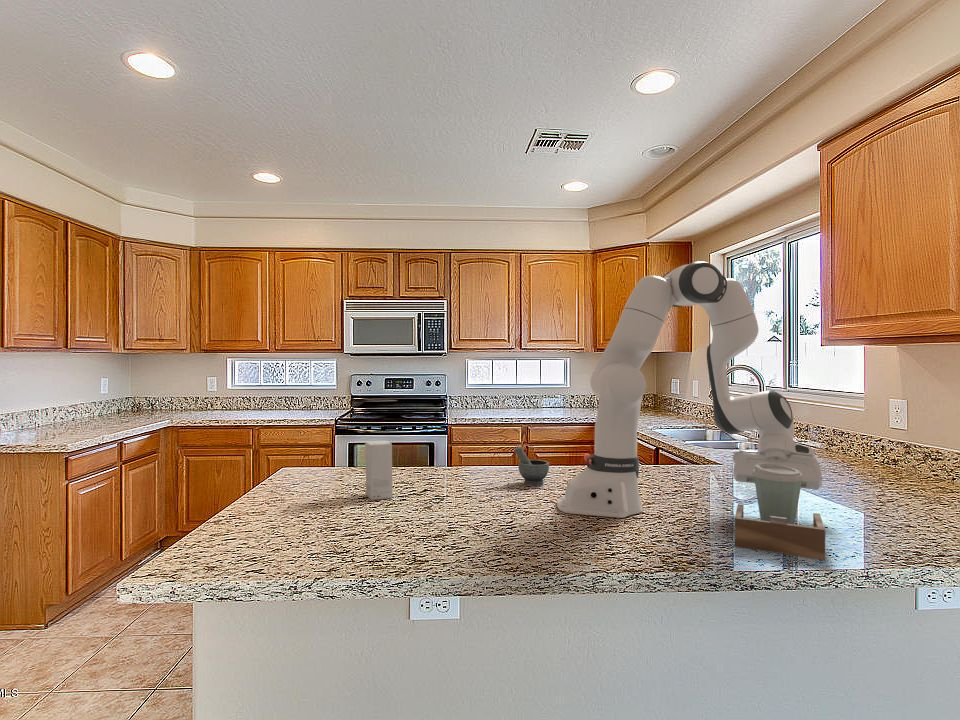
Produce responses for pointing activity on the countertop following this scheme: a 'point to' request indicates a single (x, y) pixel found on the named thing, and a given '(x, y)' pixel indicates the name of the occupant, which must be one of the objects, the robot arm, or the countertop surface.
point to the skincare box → (378, 470)
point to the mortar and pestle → (531, 469)
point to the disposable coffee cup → (777, 490)
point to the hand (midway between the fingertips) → (776, 497)
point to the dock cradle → (780, 535)
